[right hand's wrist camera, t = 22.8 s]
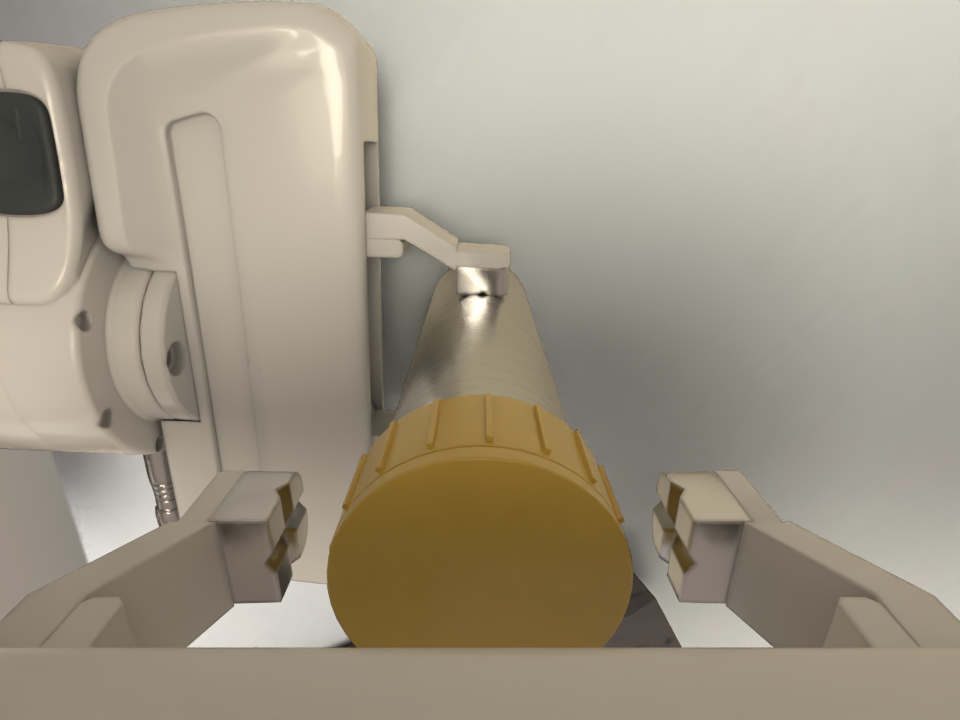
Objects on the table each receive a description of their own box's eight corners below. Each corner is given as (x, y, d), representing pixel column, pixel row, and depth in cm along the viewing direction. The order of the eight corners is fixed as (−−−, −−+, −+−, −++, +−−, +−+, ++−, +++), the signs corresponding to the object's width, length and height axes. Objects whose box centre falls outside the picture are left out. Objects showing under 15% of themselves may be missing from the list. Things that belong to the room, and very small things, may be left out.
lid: (310, 544, 11) (272, 632, 9) (425, 341, 9) (410, 394, 7) (520, 634, 12) (529, 733, 10) (658, 464, 10) (702, 542, 8)
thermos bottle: (516, 357, 25) (570, 653, 10) (426, 342, 25) (348, 626, 10) (535, 268, 24) (630, 467, 9) (439, 251, 23) (369, 428, 9)
